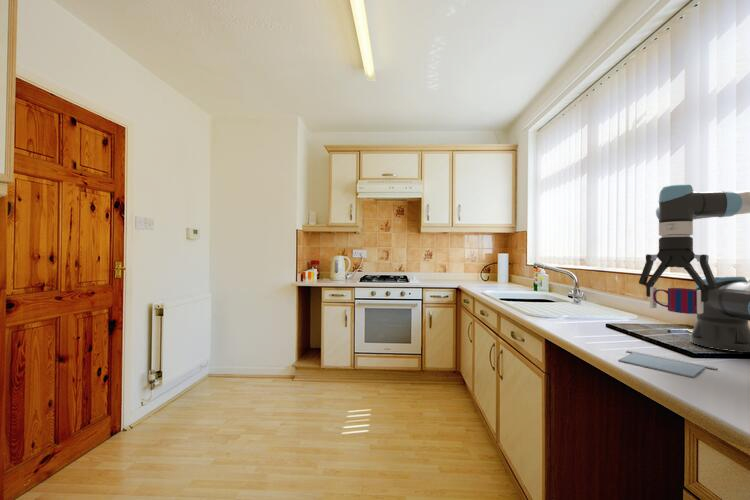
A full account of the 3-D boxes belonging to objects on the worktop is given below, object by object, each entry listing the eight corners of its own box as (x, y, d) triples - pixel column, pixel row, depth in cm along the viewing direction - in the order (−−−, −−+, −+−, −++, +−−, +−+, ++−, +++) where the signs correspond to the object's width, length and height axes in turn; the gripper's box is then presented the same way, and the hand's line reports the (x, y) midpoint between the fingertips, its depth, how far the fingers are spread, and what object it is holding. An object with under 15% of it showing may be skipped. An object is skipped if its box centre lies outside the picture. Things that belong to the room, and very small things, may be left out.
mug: (697, 314, 90) (697, 290, 90) (651, 309, 98) (651, 287, 98) (700, 312, 94) (700, 289, 95) (656, 307, 102) (656, 286, 102)
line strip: (628, 351, 103) (628, 350, 103) (717, 368, 86) (717, 367, 86) (626, 352, 102) (626, 351, 102) (716, 370, 85) (716, 369, 85)
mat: (632, 354, 100) (632, 352, 100) (704, 368, 87) (704, 367, 87) (618, 361, 94) (618, 359, 94) (693, 377, 81) (693, 376, 81)
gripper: (625, 237, 104) (625, 305, 104) (726, 234, 85) (727, 318, 85) (635, 238, 108) (635, 304, 108) (733, 235, 89) (734, 315, 89)
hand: (675, 310), depth 96 cm, fingers closed on mug, 10 cm apart
